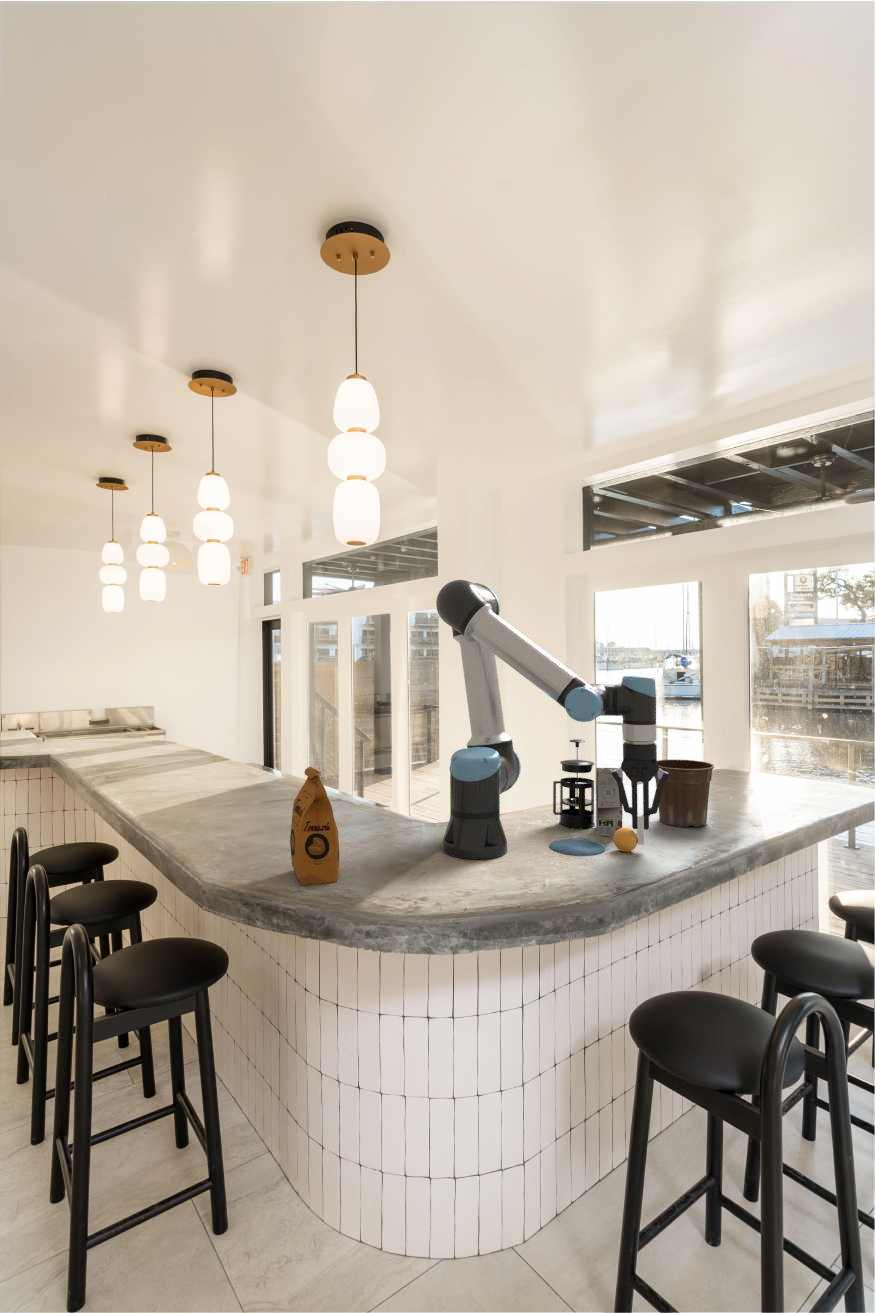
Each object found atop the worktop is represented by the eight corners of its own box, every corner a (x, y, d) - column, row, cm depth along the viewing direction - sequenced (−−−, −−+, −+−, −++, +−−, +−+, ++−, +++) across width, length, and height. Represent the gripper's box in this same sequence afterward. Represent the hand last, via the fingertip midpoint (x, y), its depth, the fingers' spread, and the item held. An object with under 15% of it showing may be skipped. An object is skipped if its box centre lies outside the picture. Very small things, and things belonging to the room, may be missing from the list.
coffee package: (291, 888, 131) (291, 777, 131) (289, 868, 143) (289, 766, 143) (342, 884, 134) (342, 775, 134) (335, 865, 146) (335, 764, 146)
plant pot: (642, 824, 181) (643, 764, 181) (660, 812, 194) (660, 757, 194) (705, 833, 172) (706, 771, 172) (719, 820, 185) (720, 762, 185)
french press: (590, 819, 185) (591, 737, 185) (602, 829, 176) (602, 741, 176) (549, 820, 184) (549, 737, 184) (558, 829, 175) (558, 742, 175)
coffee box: (623, 837, 168) (623, 773, 168) (596, 836, 169) (597, 772, 169) (620, 828, 177) (620, 767, 176) (595, 827, 178) (595, 766, 178)
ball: (630, 859, 153) (608, 847, 155) (630, 852, 159) (609, 840, 160) (642, 839, 152) (619, 826, 154) (641, 832, 158) (620, 820, 159)
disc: (546, 852, 155) (546, 852, 155) (552, 837, 167) (552, 837, 167) (604, 857, 151) (604, 856, 151) (605, 842, 164) (605, 841, 164)
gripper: (668, 740, 157) (669, 840, 157) (611, 739, 161) (612, 837, 161) (670, 744, 150) (671, 849, 150) (610, 743, 153) (611, 845, 153)
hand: (640, 842), depth 155 cm, fingers closed
